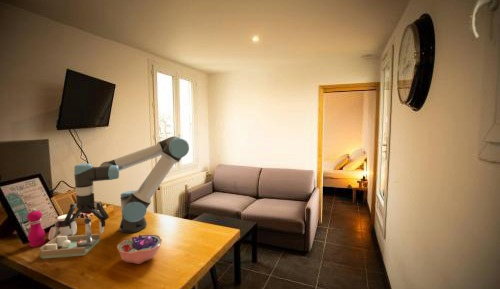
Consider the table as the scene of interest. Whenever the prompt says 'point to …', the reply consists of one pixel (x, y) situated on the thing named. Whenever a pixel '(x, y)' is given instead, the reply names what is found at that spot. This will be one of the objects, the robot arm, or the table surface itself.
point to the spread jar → (60, 228)
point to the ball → (66, 243)
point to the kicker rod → (87, 235)
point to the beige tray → (52, 252)
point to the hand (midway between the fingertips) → (88, 233)
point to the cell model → (139, 248)
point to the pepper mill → (35, 229)
